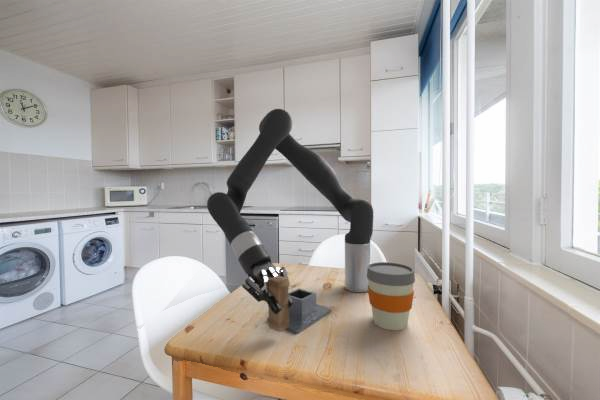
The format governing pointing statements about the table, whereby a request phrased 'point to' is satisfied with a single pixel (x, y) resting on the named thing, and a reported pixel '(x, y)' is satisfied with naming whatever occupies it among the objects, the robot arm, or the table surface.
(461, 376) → the table surface
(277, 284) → the brown square block
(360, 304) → the table surface
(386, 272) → the reusable coffee cup
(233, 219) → the robot arm
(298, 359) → the table surface
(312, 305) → the grey square tube bracket
